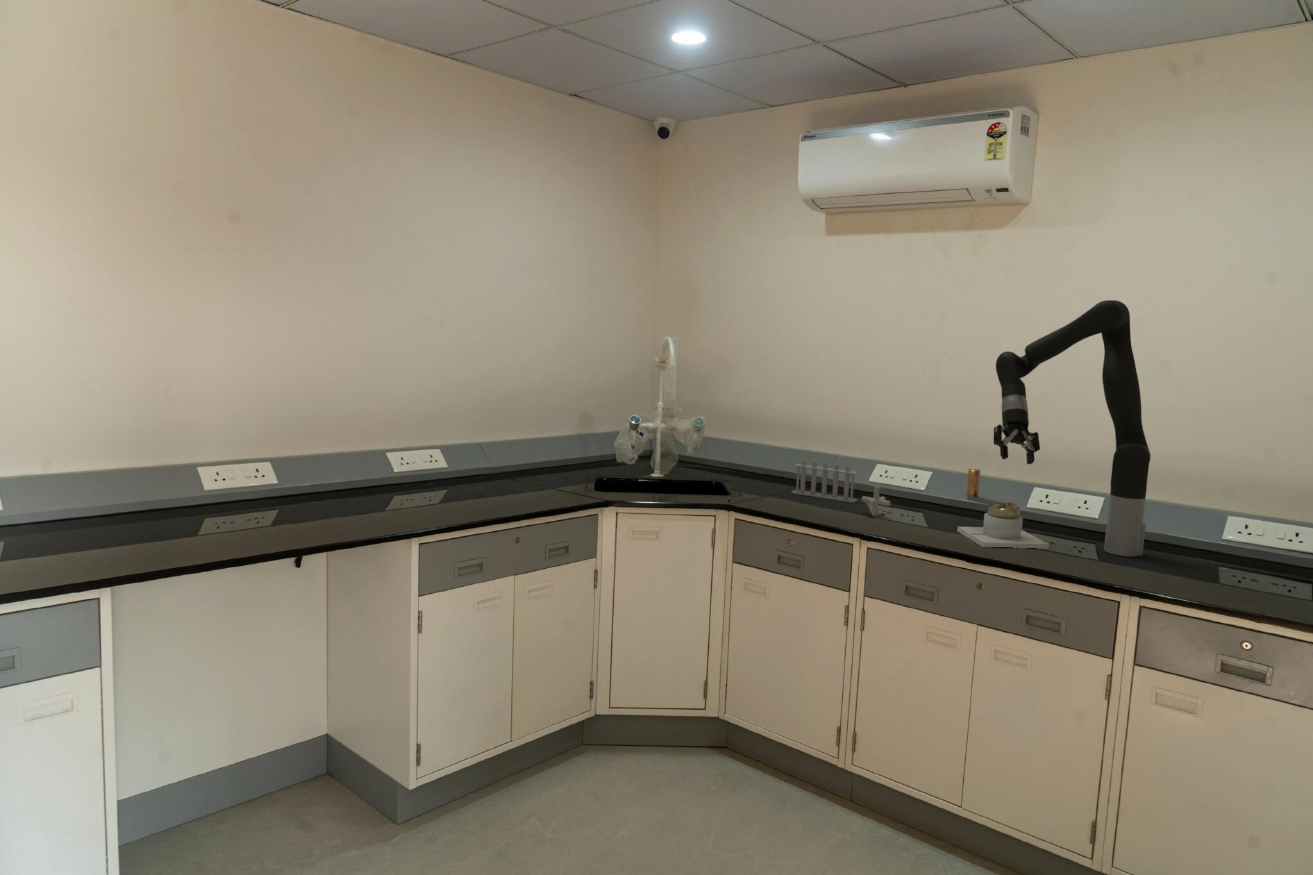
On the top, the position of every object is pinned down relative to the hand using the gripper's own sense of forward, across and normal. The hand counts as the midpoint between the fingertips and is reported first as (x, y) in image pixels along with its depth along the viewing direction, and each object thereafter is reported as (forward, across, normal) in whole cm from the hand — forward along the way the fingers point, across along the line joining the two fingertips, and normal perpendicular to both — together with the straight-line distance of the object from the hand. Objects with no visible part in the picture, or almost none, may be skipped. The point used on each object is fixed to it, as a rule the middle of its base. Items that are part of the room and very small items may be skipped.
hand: (1017, 461), depth 258 cm
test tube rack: (-5, -31, +74) cm, 80 cm away
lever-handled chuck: (+12, 0, +15) cm, 19 cm away
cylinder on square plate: (+21, +3, +14) cm, 25 cm away
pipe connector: (+9, -24, +46) cm, 53 cm away
